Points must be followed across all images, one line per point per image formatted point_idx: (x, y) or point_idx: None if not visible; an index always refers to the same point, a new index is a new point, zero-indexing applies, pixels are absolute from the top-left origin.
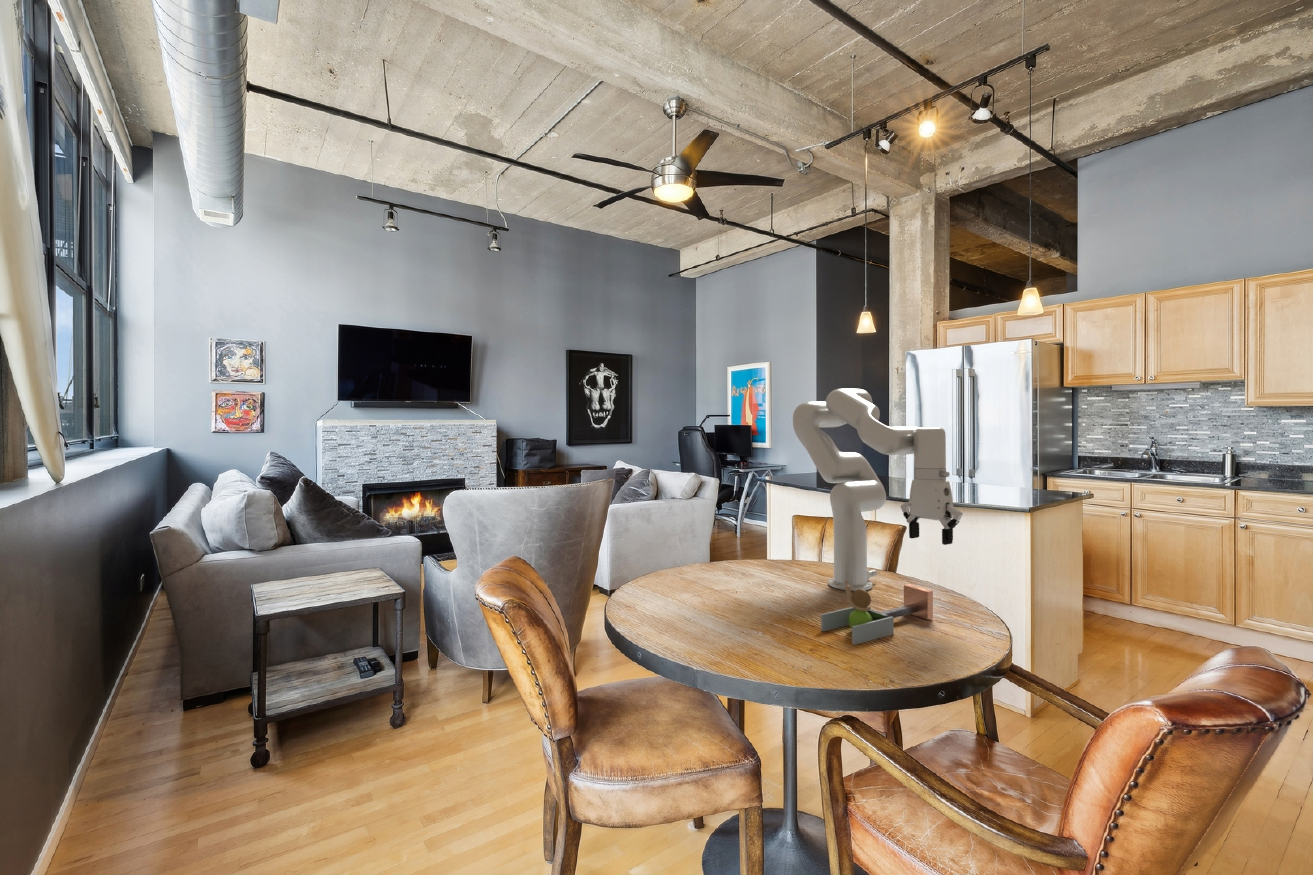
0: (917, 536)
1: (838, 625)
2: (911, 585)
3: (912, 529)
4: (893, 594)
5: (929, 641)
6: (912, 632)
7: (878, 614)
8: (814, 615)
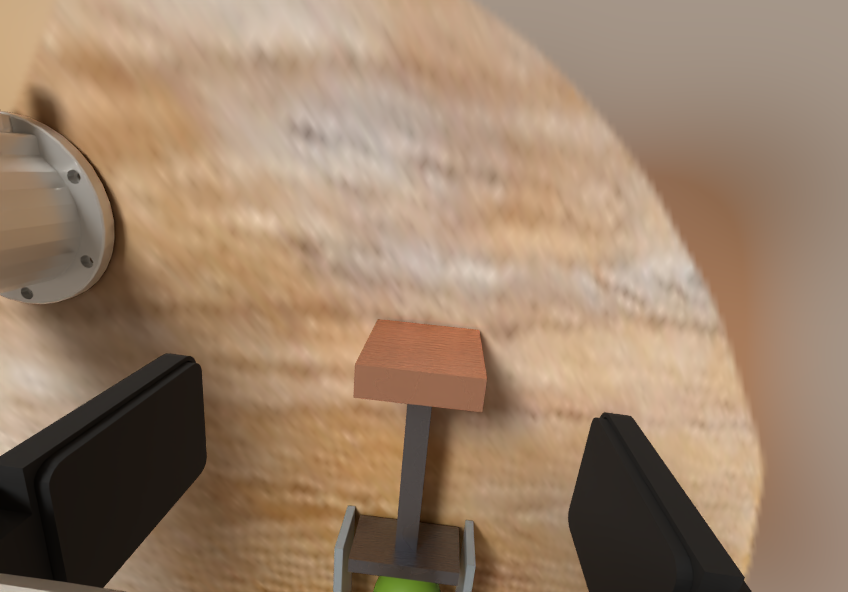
0: (198, 393)
1: (350, 584)
2: (378, 377)
3: (138, 532)
4: (203, 170)
5: (570, 499)
6: (501, 475)
7: (432, 579)
8: (245, 553)
